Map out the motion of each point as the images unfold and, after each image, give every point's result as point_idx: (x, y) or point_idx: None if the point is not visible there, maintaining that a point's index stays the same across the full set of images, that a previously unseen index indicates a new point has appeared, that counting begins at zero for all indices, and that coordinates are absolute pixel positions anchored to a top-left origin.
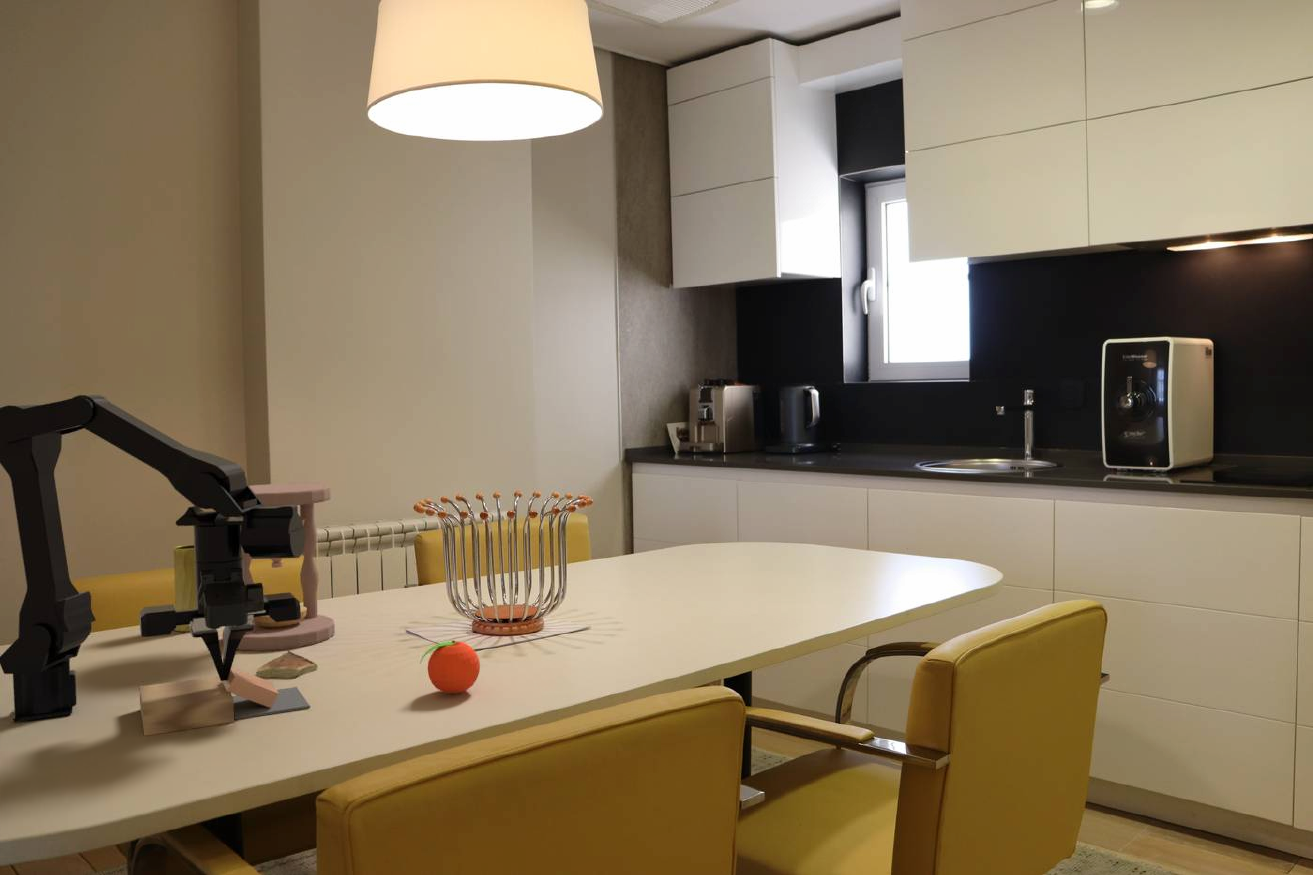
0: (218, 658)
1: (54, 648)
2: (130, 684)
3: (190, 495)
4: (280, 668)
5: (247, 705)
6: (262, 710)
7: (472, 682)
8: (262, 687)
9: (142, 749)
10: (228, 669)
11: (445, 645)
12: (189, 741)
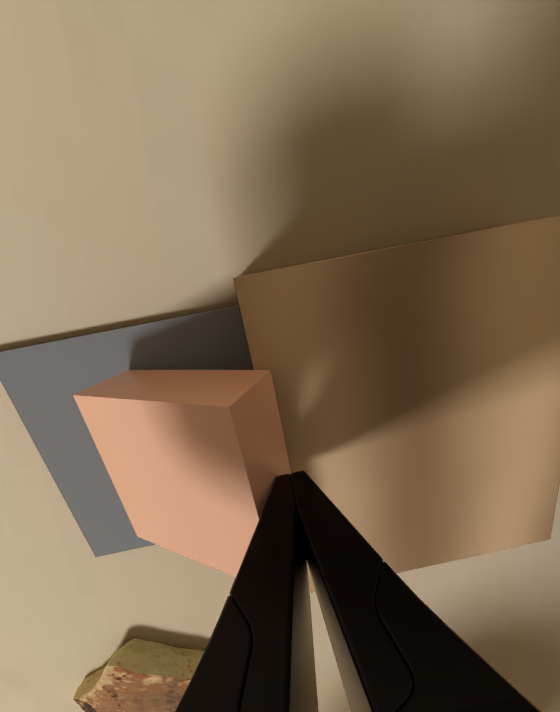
0: (341, 560)
1: None
2: (488, 649)
3: None
4: (160, 676)
5: None
6: (155, 353)
7: None
8: (118, 398)
9: (531, 44)
10: (272, 508)
11: None
12: (376, 79)
